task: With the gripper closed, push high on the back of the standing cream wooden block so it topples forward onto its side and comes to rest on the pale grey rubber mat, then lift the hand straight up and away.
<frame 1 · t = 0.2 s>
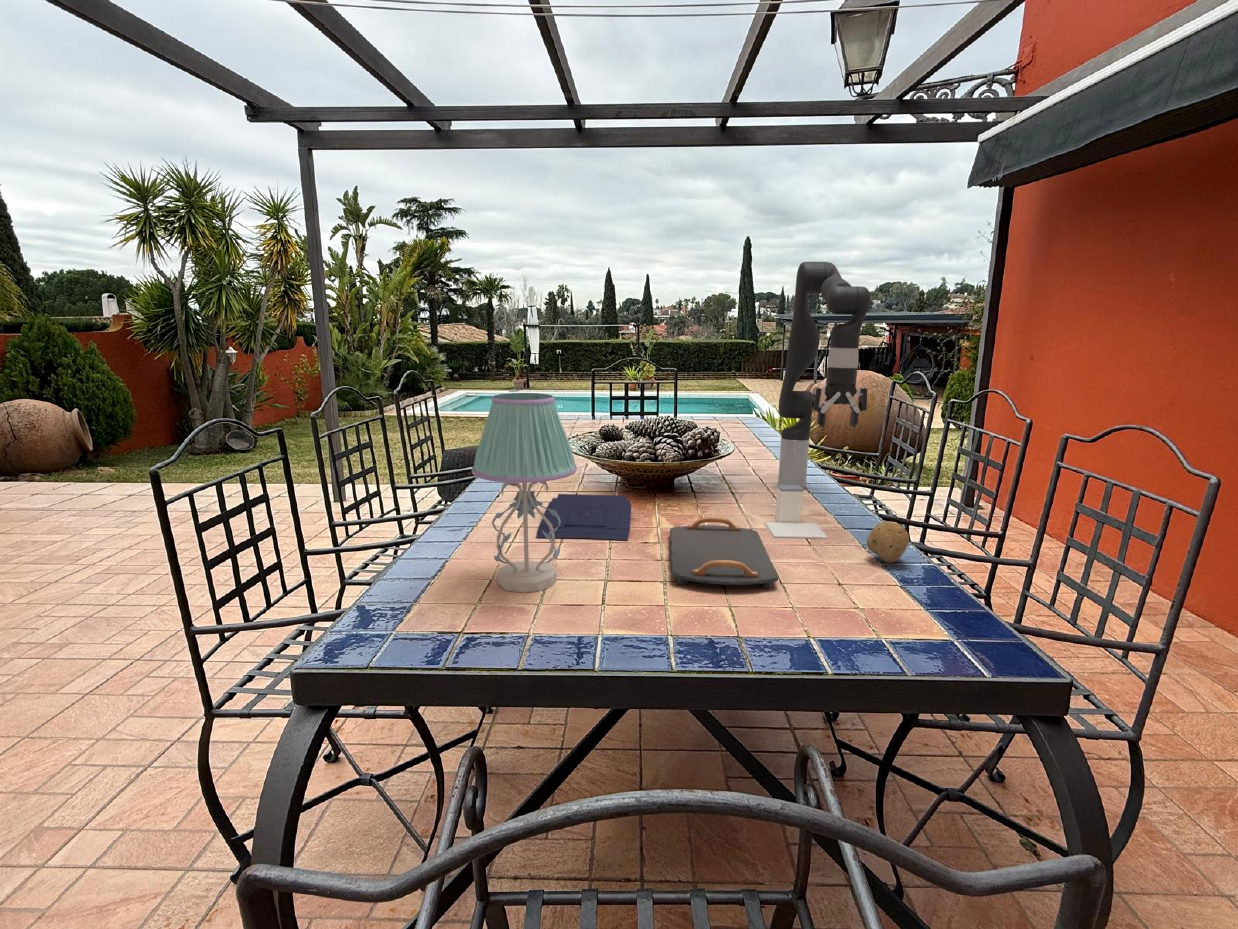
hand: (836, 426, 171), 28 cm above the table, fingers open, 8 cm apart
table lamp: (526, 581, 139), on the table
dark blue flat slab: (587, 523, 180), on the table
mat: (795, 530, 174), on the table
potato: (885, 562, 153), on the table
block: (787, 521, 183), on the table
serving board: (717, 562, 153), on the table
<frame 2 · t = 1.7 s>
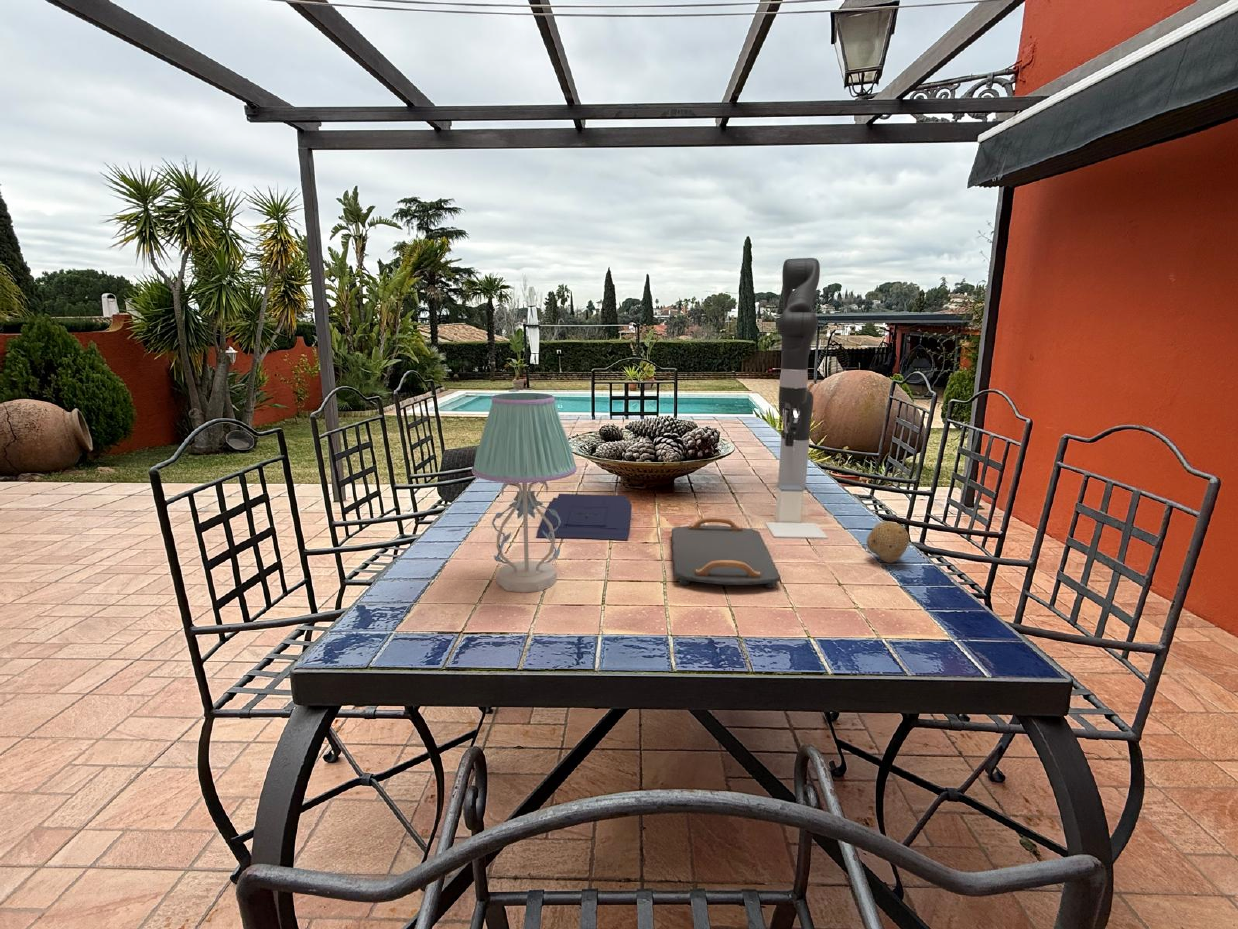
hand: (788, 445, 184), 21 cm above the table, fingers closed
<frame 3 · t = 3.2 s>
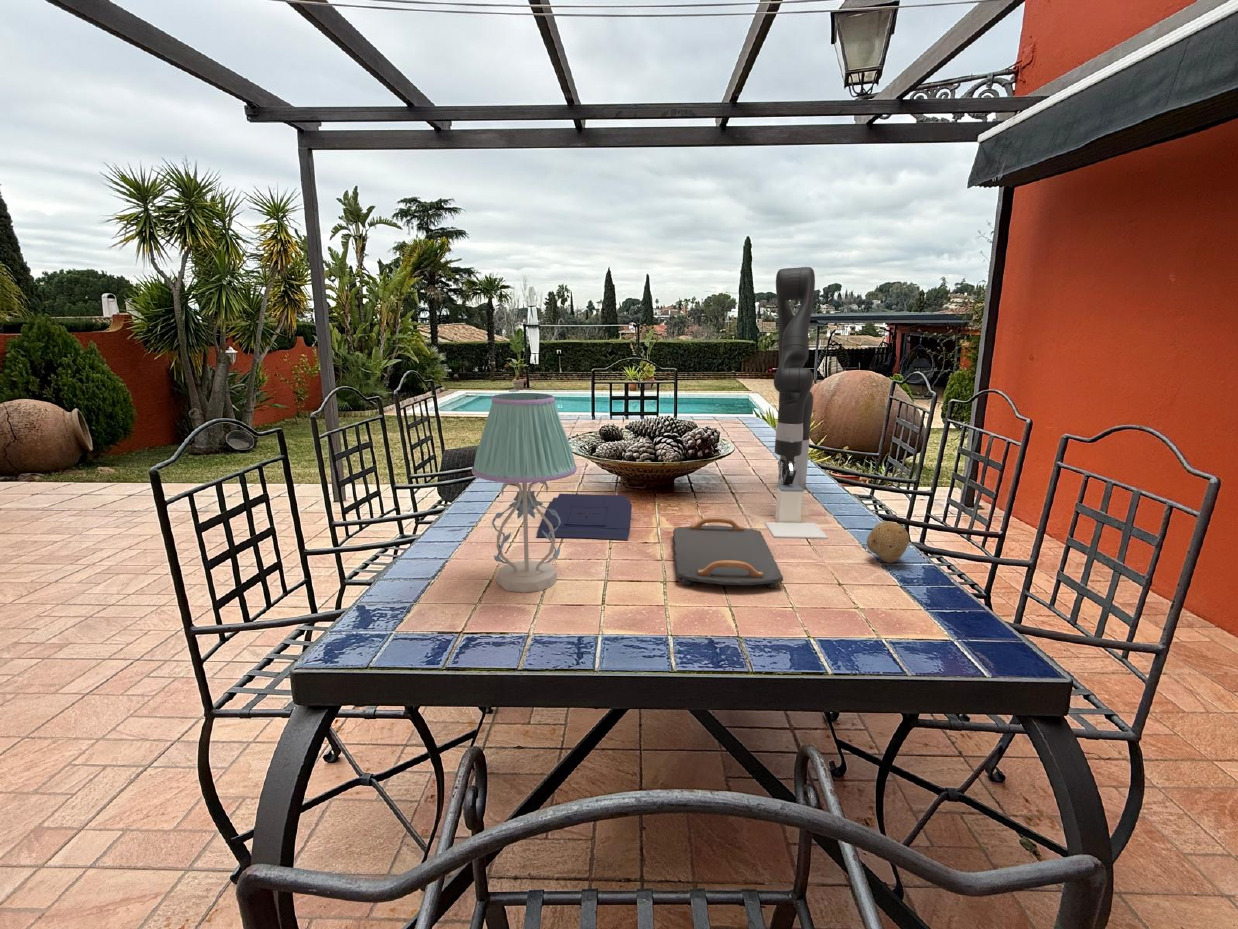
hand: (784, 496, 187), 6 cm above the table, fingers closed
block: (787, 521, 183), on the table, touching gripper
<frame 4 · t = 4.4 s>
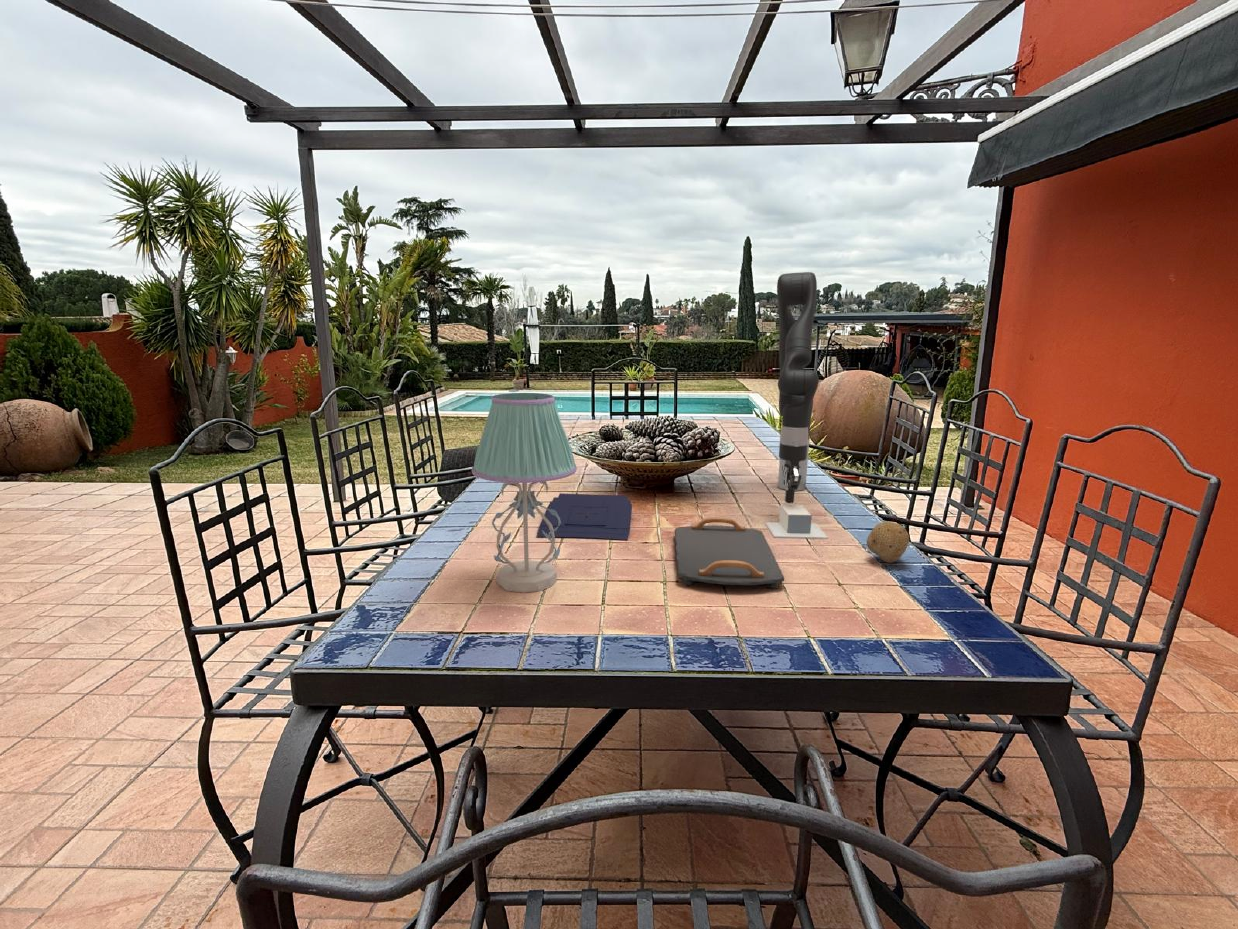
hand: (789, 502, 181), 6 cm above the table, fingers closed
block: (790, 513, 180), point 3 cm above the table, tilted 90°, touching mat
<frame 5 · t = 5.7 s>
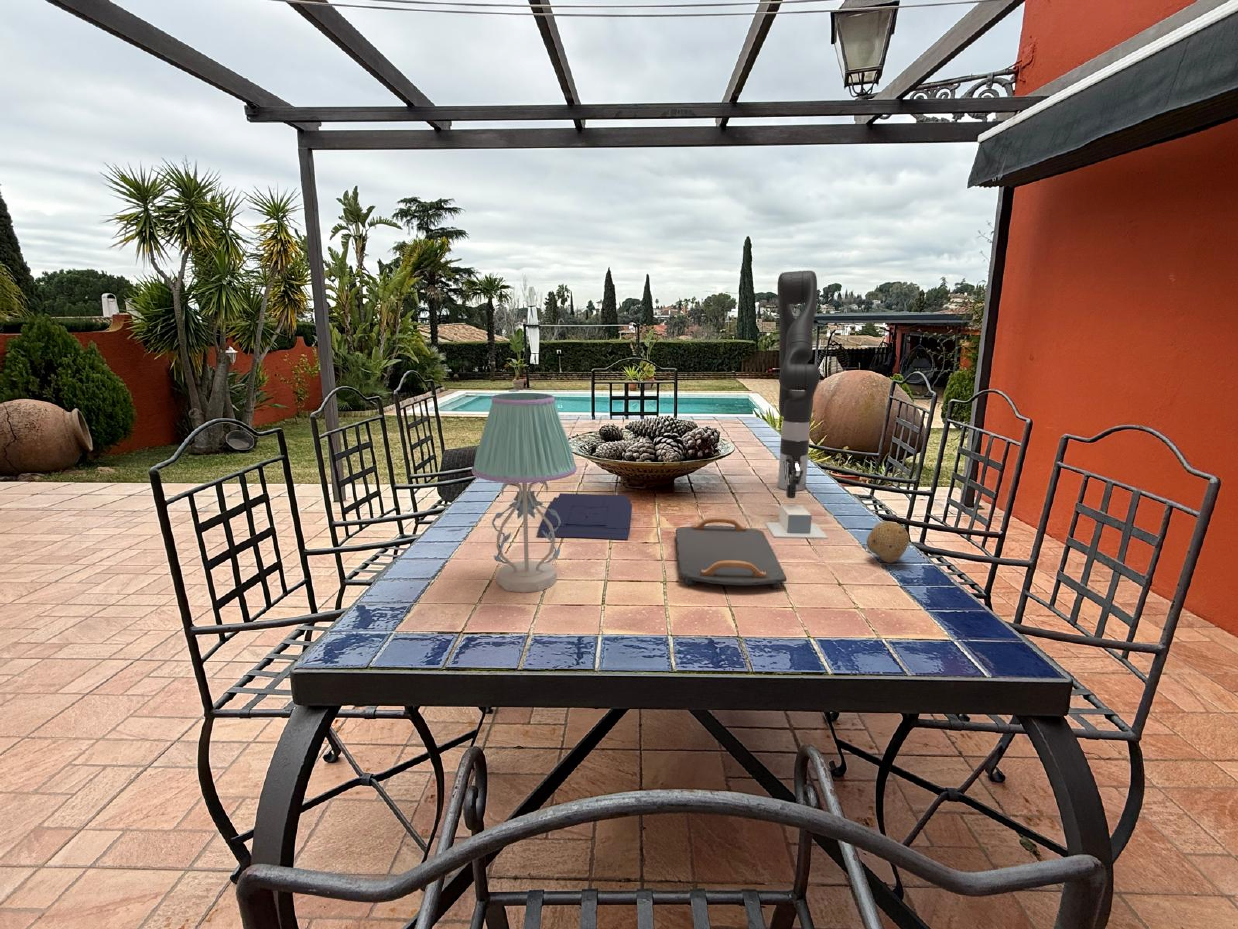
hand: (790, 497, 181), 7 cm above the table, fingers closed
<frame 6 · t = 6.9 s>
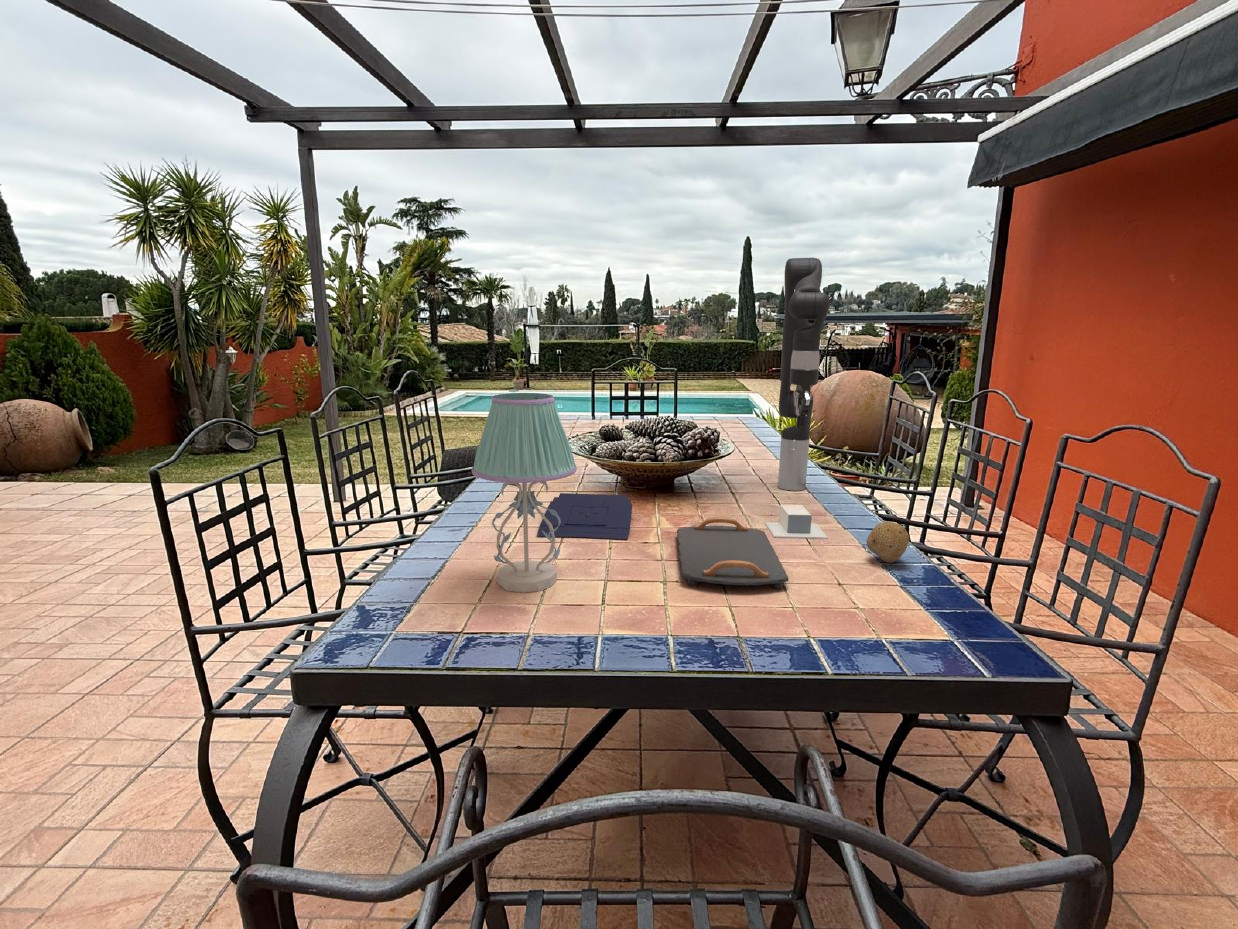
hand: (800, 428, 182), 26 cm above the table, fingers closed
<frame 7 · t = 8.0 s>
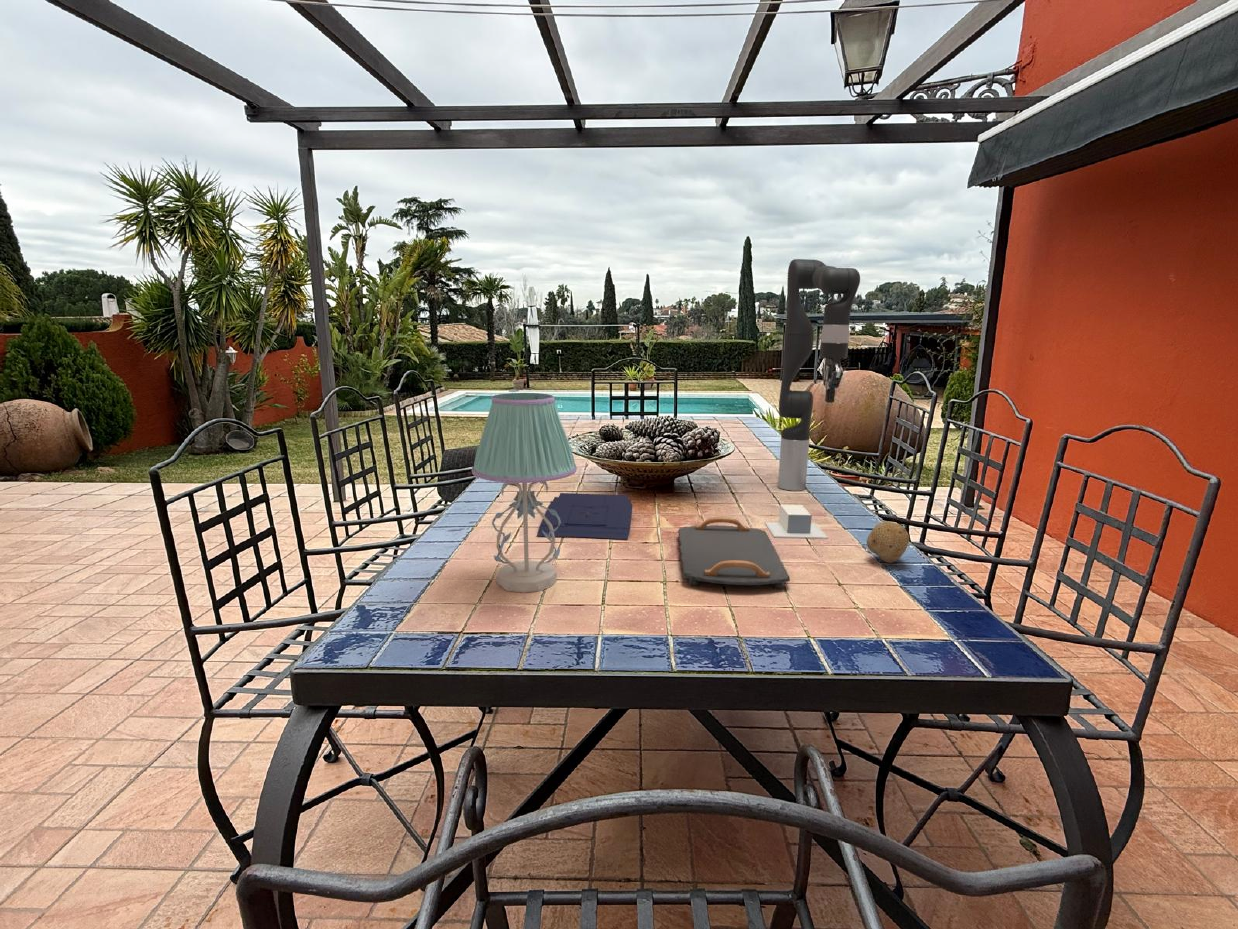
hand: (829, 402, 185), 33 cm above the table, fingers closed
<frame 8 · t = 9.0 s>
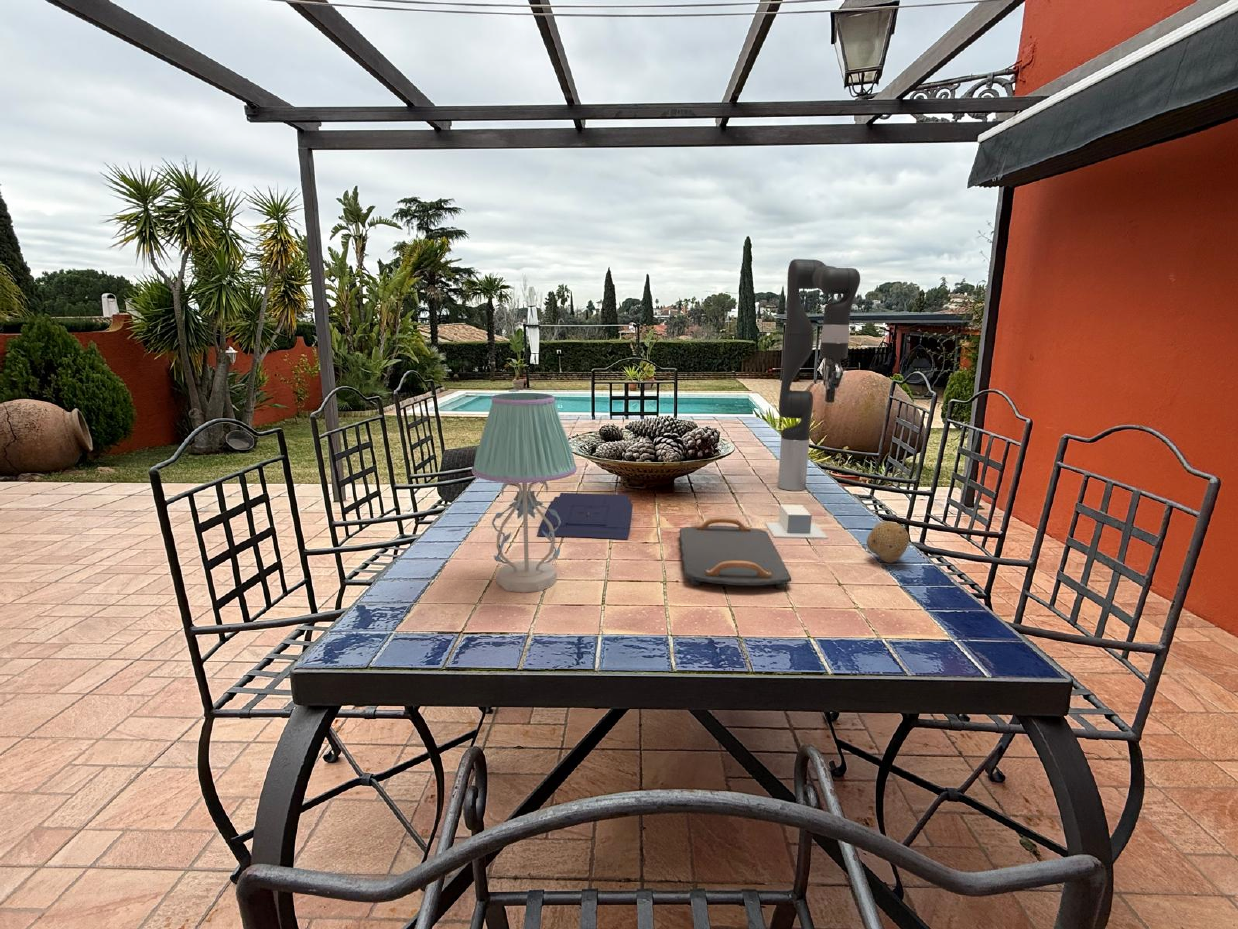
hand: (829, 402, 185), 33 cm above the table, fingers closed
at the end: block tilted 90°; block inside the target area (4.8 cm from its centre), point 2.9 cm above the table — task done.
